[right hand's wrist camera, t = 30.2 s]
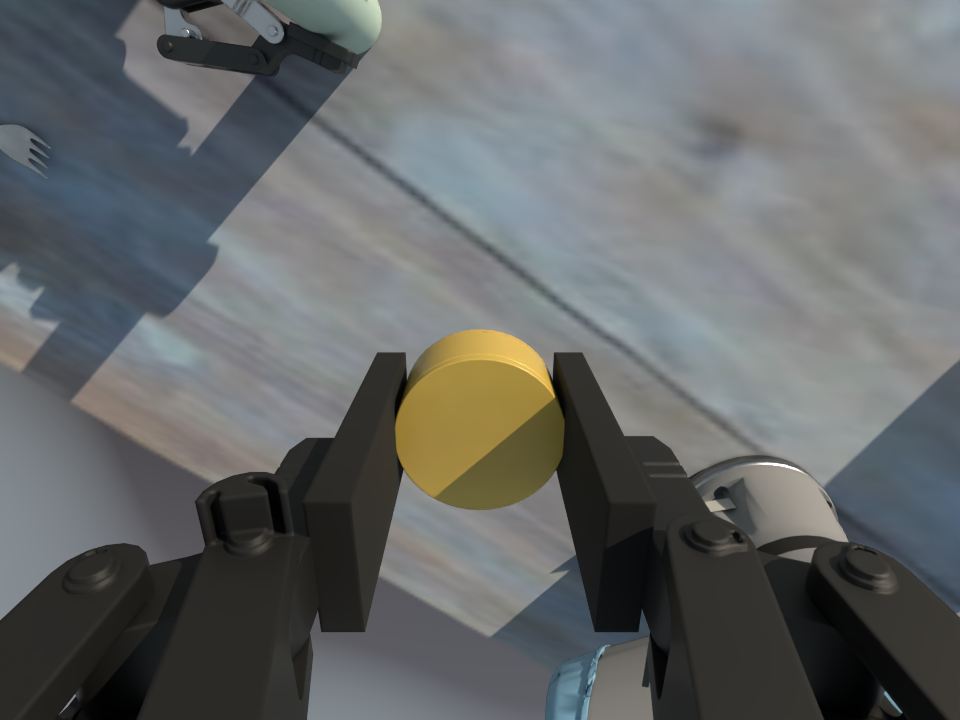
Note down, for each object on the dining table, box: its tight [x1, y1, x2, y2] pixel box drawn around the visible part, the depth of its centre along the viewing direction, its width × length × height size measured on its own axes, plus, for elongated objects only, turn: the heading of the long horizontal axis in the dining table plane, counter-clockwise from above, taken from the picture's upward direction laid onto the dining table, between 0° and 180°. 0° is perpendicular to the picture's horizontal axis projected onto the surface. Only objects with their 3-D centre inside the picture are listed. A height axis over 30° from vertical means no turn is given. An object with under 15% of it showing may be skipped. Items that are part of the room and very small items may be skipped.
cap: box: [395, 329, 565, 510], centre depth 14 cm, size 4×4×2 cm
